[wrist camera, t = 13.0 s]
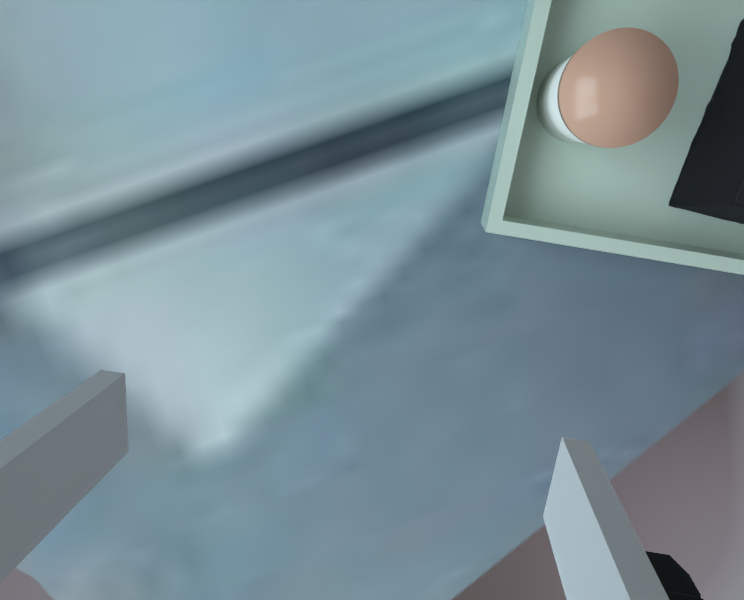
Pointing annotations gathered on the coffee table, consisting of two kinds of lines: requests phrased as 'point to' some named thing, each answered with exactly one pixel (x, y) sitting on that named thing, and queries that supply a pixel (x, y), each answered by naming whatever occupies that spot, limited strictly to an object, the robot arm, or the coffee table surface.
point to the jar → (610, 90)
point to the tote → (613, 165)
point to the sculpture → (718, 148)
